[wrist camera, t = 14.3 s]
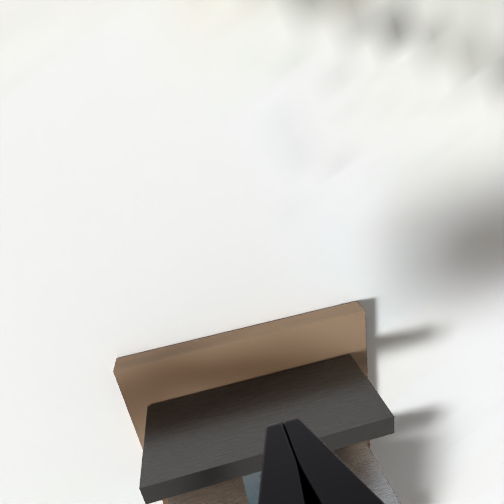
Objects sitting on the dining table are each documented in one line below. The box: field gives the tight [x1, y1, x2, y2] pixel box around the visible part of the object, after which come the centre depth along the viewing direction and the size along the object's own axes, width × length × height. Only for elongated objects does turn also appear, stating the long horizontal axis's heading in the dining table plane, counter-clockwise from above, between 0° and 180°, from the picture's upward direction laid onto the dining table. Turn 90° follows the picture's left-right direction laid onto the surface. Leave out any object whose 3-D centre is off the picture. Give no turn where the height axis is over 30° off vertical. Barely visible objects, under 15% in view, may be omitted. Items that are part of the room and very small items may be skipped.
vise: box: [113, 301, 370, 504], centre depth 21 cm, size 20×13×6 cm, turn 9°
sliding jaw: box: [139, 354, 400, 504], centre depth 19 cm, size 8×12×4 cm, turn 99°
